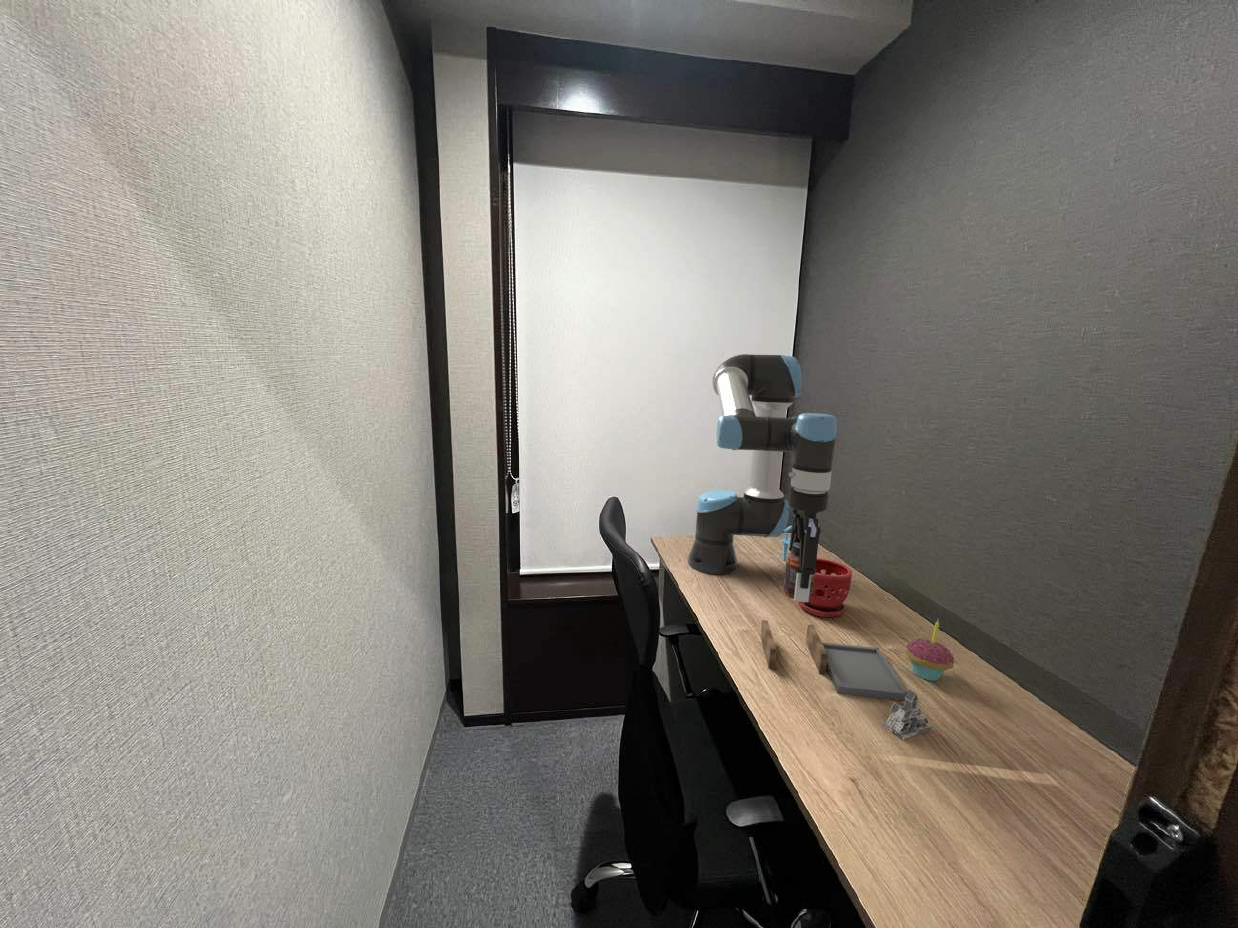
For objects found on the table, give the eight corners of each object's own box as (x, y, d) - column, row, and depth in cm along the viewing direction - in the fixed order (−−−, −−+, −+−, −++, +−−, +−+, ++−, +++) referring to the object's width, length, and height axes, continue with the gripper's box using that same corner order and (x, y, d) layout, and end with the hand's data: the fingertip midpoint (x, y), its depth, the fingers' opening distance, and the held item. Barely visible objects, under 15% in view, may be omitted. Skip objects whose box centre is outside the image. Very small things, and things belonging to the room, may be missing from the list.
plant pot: (858, 616, 128) (864, 573, 126) (817, 624, 123) (822, 579, 121) (821, 594, 140) (826, 554, 138) (783, 600, 135) (787, 559, 133)
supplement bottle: (814, 603, 104) (820, 552, 101) (784, 599, 105) (790, 549, 102) (809, 590, 109) (815, 541, 107) (781, 587, 111) (786, 539, 108)
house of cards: (895, 699, 97) (901, 664, 95) (938, 730, 89) (945, 692, 87) (860, 710, 93) (866, 673, 92) (901, 743, 85) (908, 703, 84)
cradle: (760, 637, 116) (762, 620, 115) (811, 642, 115) (813, 624, 114) (768, 668, 105) (770, 648, 104) (825, 674, 103) (827, 654, 102)
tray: (817, 647, 113) (817, 641, 113) (877, 653, 111) (878, 647, 111) (837, 693, 97) (838, 686, 97) (908, 700, 96) (909, 693, 95)
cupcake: (910, 657, 110) (918, 607, 108) (955, 675, 104) (965, 622, 102) (897, 673, 104) (906, 621, 102) (944, 693, 98) (954, 637, 96)
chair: (776, 559, 164) (779, 524, 162) (794, 555, 168) (797, 521, 166) (794, 568, 157) (798, 532, 155) (812, 564, 161) (816, 528, 159)
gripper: (782, 477, 112) (772, 573, 117) (800, 500, 94) (788, 613, 98) (816, 479, 111) (805, 576, 116) (842, 503, 93) (827, 617, 97)
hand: (797, 593), depth 107 cm, fingers closed on supplement bottle, 6 cm apart
